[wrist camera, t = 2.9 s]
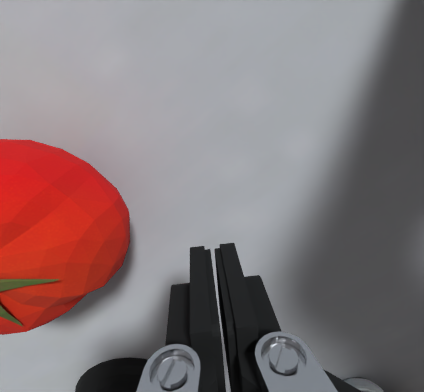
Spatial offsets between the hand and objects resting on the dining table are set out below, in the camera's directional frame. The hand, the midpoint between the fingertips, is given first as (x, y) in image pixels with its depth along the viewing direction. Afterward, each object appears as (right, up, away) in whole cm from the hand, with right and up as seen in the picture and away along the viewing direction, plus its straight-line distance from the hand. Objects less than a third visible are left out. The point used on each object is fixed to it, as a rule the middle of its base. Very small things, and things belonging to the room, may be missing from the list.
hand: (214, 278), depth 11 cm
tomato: (-10, +3, +7) cm, 13 cm away
